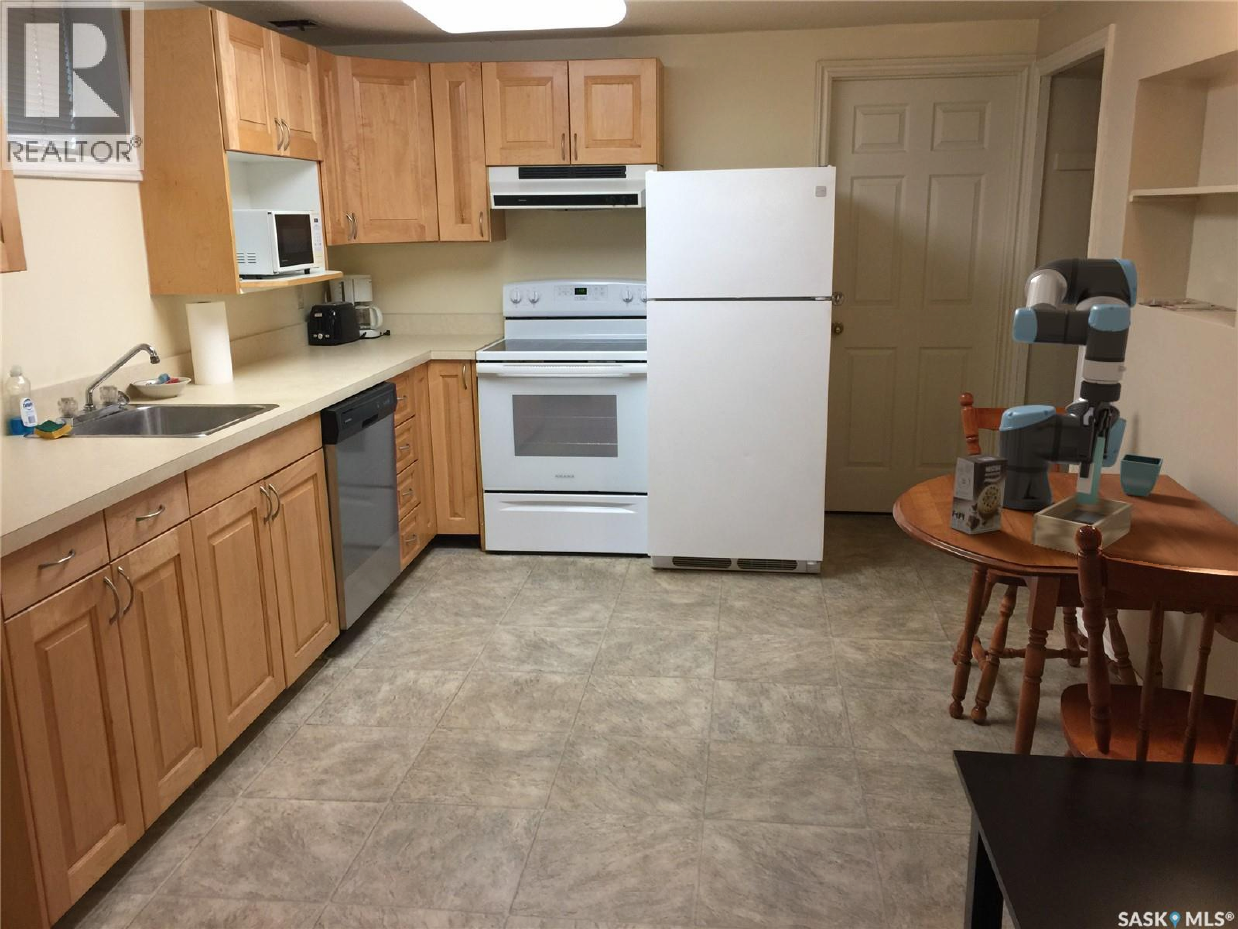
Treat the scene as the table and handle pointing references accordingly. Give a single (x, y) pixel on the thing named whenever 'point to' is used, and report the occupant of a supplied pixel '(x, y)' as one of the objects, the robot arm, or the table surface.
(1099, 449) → the peg
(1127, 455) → the flower pot
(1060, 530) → the crate
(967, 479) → the coffee box
